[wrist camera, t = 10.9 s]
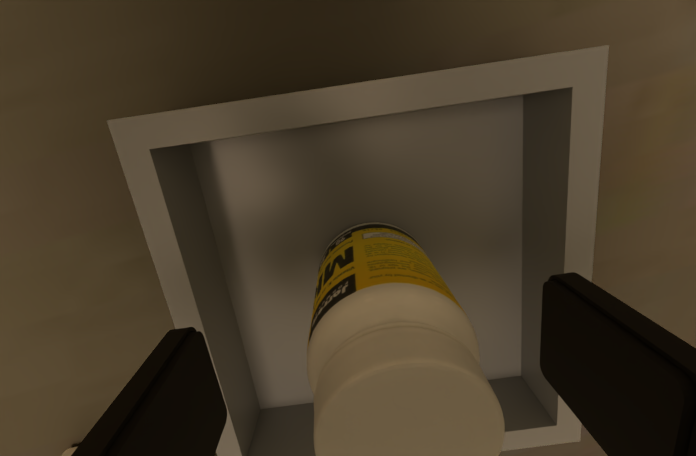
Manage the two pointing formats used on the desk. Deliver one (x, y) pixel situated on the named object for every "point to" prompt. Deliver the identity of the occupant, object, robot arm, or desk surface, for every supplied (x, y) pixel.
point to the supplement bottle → (394, 355)
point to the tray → (373, 206)
